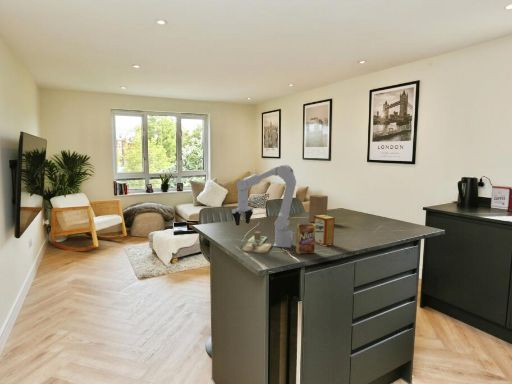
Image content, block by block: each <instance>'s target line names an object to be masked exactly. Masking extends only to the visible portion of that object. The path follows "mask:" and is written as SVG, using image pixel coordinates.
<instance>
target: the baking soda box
mask: <svg viewBox="0 0 512 384" xmlns="http://www.w3.org/2000/svg"><path fill="white" fill-rule="evenodd" d="M314 224H315V225H316V230H315V244H316V243H319V244H322V245H329V244H333V245H334V237H335V236H334V235H335V217H333V216H330V215H328V214H327V215H317V216H314ZM319 244H318V245H319ZM322 245H321V246H322Z"/></svg>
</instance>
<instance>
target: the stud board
mask: <svg viewBox="0 0 512 384" xmlns="http://www.w3.org/2000/svg"><path fill="white" fill-rule="evenodd" d="M272 247H273V244H271V243H260V240H255V243H251V242H248V243H247V242H246V244H245V245H244V246H243V247H242V248H241V249H240V250H241V252H251V253H261V254H268V252H269V251H270V250H271V248H272Z"/></svg>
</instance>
